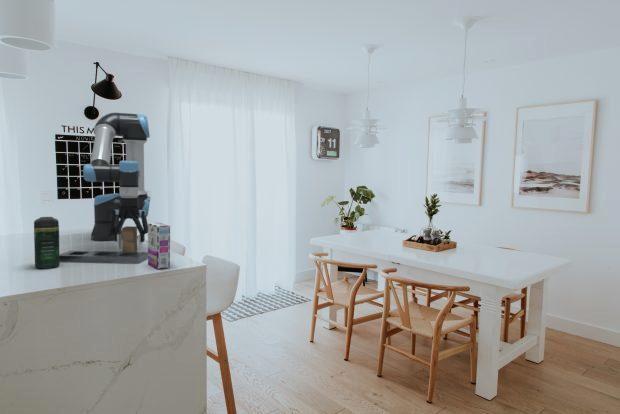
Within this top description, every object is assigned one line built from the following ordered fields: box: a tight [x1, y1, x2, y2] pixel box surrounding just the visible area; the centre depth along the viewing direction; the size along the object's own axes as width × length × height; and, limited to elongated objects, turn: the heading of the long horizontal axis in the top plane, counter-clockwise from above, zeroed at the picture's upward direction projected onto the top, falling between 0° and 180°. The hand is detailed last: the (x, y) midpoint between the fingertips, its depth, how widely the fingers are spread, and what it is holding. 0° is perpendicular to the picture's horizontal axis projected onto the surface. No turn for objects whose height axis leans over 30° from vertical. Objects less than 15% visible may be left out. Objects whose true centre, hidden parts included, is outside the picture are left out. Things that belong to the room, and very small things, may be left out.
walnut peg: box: [121, 225, 138, 252], centre depth 175 cm, size 4×4×12 cm
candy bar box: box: [147, 222, 171, 270], centre depth 157 cm, size 11×5×16 cm, turn 40°
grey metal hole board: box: [59, 250, 148, 265], centre depth 165 cm, size 10×32×2 cm, turn 91°
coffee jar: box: [33, 216, 61, 269], centre depth 152 cm, size 10×8×19 cm
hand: (129, 249), depth 176 cm, fingers open, 8 cm apart
